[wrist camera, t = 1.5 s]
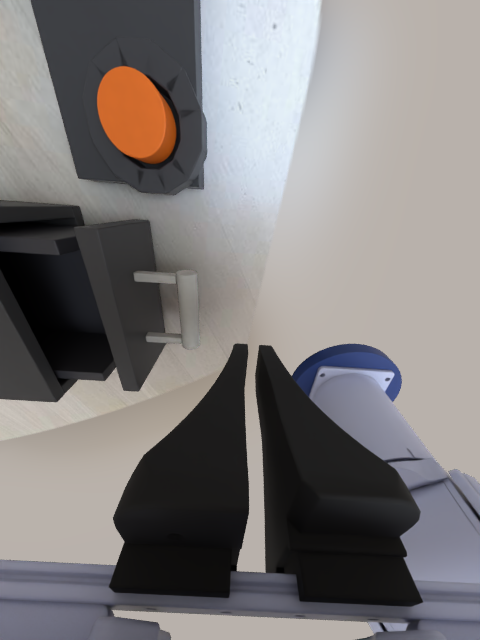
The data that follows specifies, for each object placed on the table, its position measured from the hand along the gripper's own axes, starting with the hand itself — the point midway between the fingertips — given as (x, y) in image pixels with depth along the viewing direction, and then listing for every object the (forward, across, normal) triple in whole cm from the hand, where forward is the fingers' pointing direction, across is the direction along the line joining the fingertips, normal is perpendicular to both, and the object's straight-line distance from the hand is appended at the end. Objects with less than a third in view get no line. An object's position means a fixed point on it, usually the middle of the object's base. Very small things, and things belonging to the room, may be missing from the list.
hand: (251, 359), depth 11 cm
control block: (+9, +8, -13) cm, 18 cm away
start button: (+6, +7, -10) cm, 14 cm away
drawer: (+9, +13, 0) cm, 15 cm away
